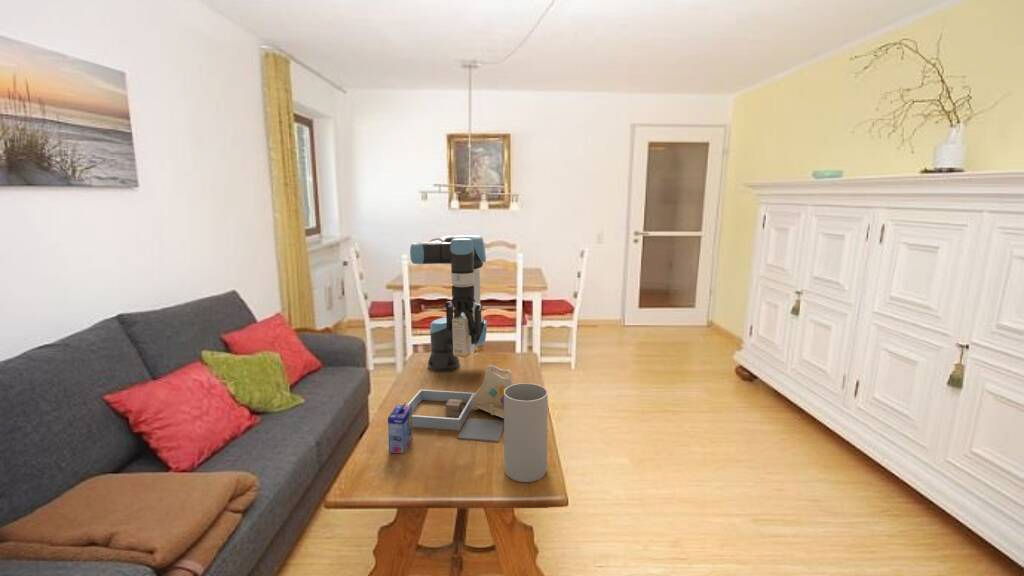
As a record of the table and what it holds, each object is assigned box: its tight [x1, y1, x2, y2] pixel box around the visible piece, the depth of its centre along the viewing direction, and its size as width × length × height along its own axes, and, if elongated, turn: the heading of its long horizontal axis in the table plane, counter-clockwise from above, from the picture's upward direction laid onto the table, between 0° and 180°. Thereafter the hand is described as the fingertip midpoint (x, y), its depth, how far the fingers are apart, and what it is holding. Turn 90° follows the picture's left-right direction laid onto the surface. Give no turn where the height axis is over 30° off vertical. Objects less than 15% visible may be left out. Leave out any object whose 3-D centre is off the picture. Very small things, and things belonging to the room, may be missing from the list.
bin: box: [406, 389, 476, 431], centre depth 174 cm, size 23×23×4 cm
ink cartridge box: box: [387, 402, 413, 454], centre depth 150 cm, size 10×6×14 cm, turn 177°
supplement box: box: [452, 313, 476, 358], centre depth 158 cm, size 8×5×13 cm, turn 158°
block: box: [445, 399, 464, 418], centre depth 173 cm, size 5×5×5 cm
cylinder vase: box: [503, 382, 549, 483], centre depth 135 cm, size 12×12×25 cm
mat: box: [457, 417, 504, 443], centre depth 161 cm, size 14×14×1 cm
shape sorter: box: [472, 364, 514, 419], centre depth 172 cm, size 20×10×18 cm, turn 47°
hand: (464, 351), depth 159 cm, fingers closed on supplement box, 5 cm apart
